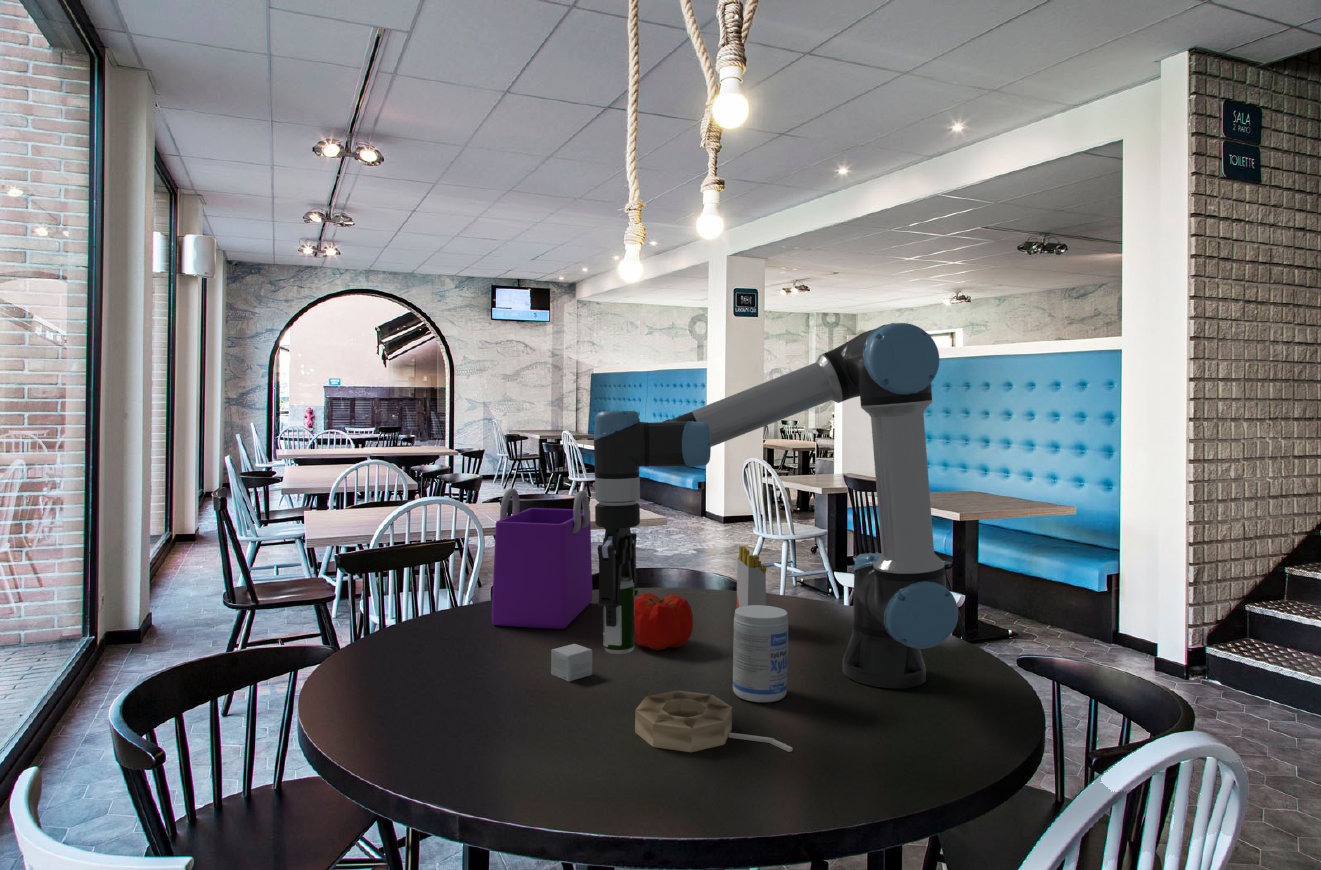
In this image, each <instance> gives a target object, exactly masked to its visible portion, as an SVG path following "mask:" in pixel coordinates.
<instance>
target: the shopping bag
mask: <svg viewBox="0 0 1321 870" xmlns="http://www.w3.org/2000/svg"><path fill="white" fill-rule="evenodd" d="M502 496H503V497H502V499H501V504H500V510H499V511H500V512H499V520H497V521H496V522H495V532H494V533H495V535H494V552H493V555H494V557H493V576H492V577H493V579H492V598H491V599H492V602H491V622H492V624H493V625H495V626H499V627H513V628H516V627H517V628H532V629H547V630H563V629H565V628H567V627H568V626H569V625H570V624H571V622H573V621H574V619H576V617H578V615H580V613H582V612H583V611H584V610H585V609H586V608H587V607H588V606H589V605H590V604H591V602H592V601H593V570H592V569H593V567H592V566H593V564H592V560H593V559H592V530H591V529H592V527H591V509H590V500H589V497H588V494H587V492H586V491H584V490H579V491H577V493H576V494H575V497H574V500H573V507H572V509H571V508H547V507H546V508H545V507H530V508H527V509H524V510H522V511H520V496H519V492H518V490H517V489H515V488H508V489H507V490H506V491H505V492H504V493H503V495H502ZM511 499H512V515H509V516H508V509H509V503H510V500H511ZM581 507H582V508H581Z"/></svg>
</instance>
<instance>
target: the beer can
mask: <svg viewBox="0 0 1321 870" xmlns="http://www.w3.org/2000/svg"><path fill="white" fill-rule="evenodd" d="M634 590H635V589H634V583H633V578H631V577H626V576H621V583H620V597H619V605H621V622H622V645H620V646H618V645H605V618H604V606H602V634H603V635H602V639H603V641H602V642H603V644H602V646H603V649H604V652H606V653H609V654H612V655H623V654H625V655H626V654H629V653H631V652H633V651H634V649H635V646H636V642H635V602H634V599H635V596H634Z"/></svg>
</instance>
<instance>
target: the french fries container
mask: <svg viewBox="0 0 1321 870" xmlns="http://www.w3.org/2000/svg"><path fill="white" fill-rule="evenodd" d="M738 547H739V548H738V552H739V554H738V557H737V559H736V561H737V562H736V563H737V565H736V566H737V567H736V570H737V571H736V609H737V608H739V607H742V606H749V605H764V606H767V591H766V590H767V587H766V586H767V579H766V577H767V574H766V572H767V568H768V566H767V564H766V565H765V564H762V560H760V556H759V554H750V549H748V548H747V546H745V545H740V546H738Z"/></svg>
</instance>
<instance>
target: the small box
mask: <svg viewBox="0 0 1321 870" xmlns="http://www.w3.org/2000/svg"><path fill="white" fill-rule="evenodd" d="M550 656H551V663H550V665H551V667H550V668H551V669H550V670H551V671H550V672H551V673H550V674H551V675H552V676H555V677H557V678H559V679H562V680H564V681H566V682H573V681H576V680H579V679H582V678H585V677H590V676H593V649H591V648H588V647H585V646H583V645H579V644H577V643H572V644H568V645H564V646H561V647H557V648H551V654H550Z"/></svg>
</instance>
